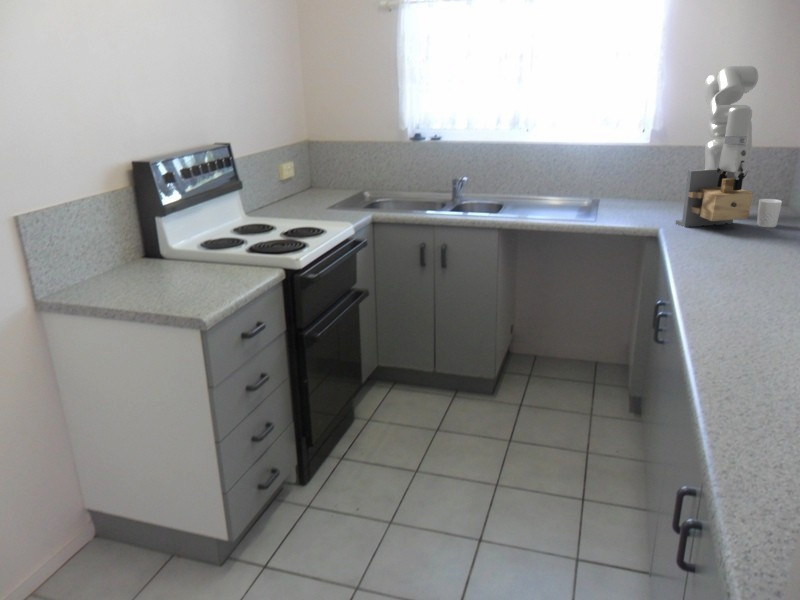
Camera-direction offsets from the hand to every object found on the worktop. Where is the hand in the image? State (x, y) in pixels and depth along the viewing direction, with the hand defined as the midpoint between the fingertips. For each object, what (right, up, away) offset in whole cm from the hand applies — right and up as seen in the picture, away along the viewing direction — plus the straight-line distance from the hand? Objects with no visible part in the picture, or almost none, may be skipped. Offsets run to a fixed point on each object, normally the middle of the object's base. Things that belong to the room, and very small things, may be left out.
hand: (729, 187), depth 251 cm
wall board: (-2, -12, +14) cm, 19 cm away
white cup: (+20, -13, +10) cm, 26 cm away
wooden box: (0, -10, +6) cm, 12 cm away
